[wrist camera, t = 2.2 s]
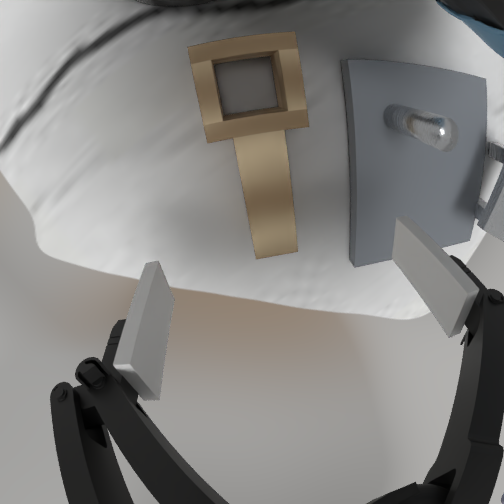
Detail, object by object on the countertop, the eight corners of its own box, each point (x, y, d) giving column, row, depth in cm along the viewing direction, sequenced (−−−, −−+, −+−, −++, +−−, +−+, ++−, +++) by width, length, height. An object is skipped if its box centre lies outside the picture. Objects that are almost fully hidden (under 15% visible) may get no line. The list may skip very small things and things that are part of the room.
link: (194, 53, 18) (187, 47, 14) (283, 40, 17) (294, 31, 14) (233, 238, 27) (235, 263, 24) (306, 225, 27) (318, 248, 23)
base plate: (340, 60, 18) (347, 59, 17) (476, 77, 18) (486, 78, 17) (349, 259, 29) (354, 267, 28) (463, 234, 29) (469, 240, 28)
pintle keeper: (374, 101, 20) (434, 116, 13) (499, 113, 20) (551, 134, 13) (374, 226, 27) (415, 277, 20) (488, 207, 27) (530, 240, 20)
